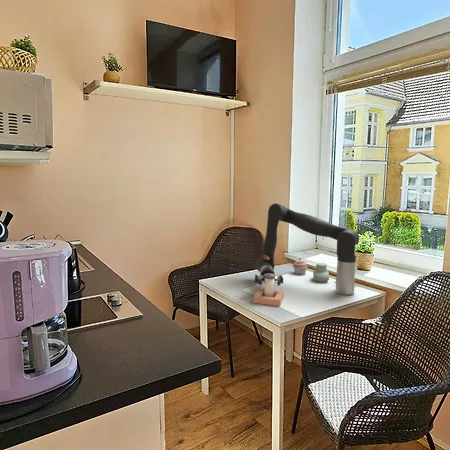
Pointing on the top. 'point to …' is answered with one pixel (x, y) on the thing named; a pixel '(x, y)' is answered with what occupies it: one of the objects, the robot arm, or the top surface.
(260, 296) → the socket block
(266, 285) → the canister
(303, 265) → the cupcake
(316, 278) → the air freshener
